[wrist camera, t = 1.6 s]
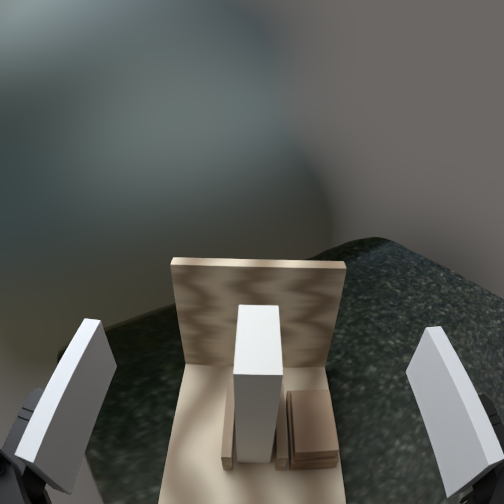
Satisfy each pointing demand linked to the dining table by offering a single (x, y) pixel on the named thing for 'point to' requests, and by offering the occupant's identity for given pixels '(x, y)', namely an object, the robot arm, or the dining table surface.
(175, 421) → the maple rack
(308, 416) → the walnut offcuts
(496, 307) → the dining table surface
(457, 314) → the dining table surface
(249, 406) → the white block
